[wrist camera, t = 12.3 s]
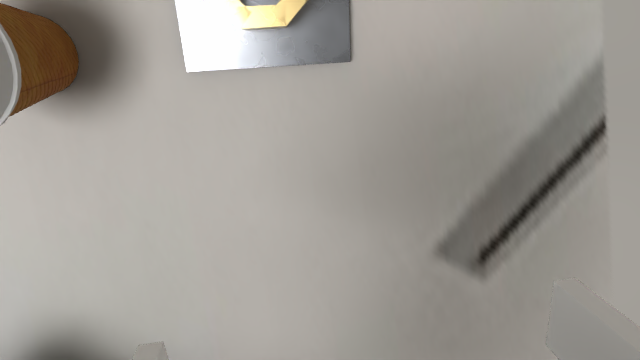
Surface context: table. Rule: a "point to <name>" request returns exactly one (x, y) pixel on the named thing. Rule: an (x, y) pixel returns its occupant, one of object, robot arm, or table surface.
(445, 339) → the table surface
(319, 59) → the metal peg stand
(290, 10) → the ring
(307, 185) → the table surface
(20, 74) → the disposable coffee cup
